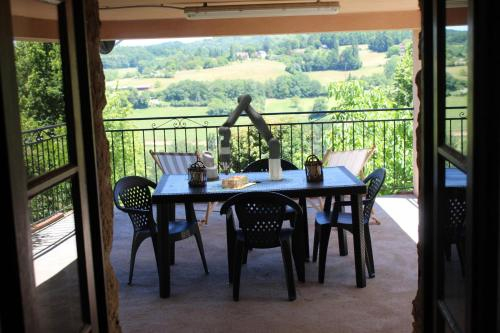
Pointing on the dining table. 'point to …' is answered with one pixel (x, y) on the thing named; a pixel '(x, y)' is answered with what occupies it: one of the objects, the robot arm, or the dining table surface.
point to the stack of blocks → (235, 181)
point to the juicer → (209, 166)
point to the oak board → (242, 186)
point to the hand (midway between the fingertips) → (226, 175)
